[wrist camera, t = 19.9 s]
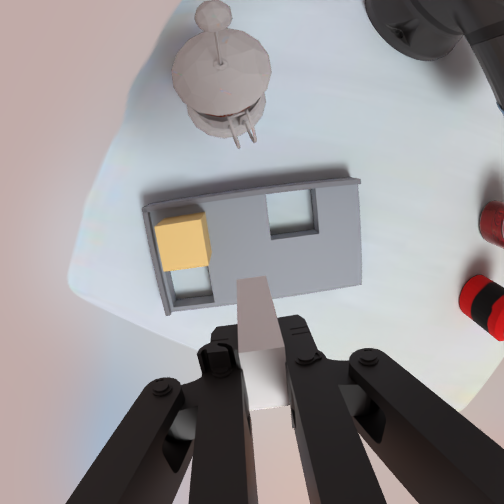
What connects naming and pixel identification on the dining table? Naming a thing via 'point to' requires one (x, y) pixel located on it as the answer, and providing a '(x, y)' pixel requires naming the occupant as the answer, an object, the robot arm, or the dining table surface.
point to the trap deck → (267, 242)
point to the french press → (222, 75)
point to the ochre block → (183, 242)
